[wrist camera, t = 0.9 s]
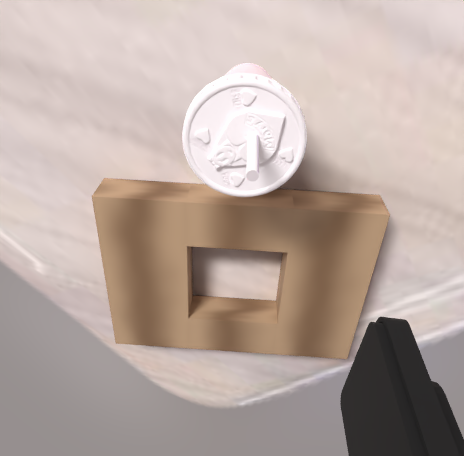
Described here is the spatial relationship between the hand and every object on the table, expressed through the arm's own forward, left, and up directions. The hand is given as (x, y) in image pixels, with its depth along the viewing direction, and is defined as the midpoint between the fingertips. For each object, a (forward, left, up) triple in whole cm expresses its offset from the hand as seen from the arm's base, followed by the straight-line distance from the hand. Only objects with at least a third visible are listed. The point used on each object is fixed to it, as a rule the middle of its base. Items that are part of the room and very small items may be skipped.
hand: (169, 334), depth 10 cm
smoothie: (-1, 0, -23) cm, 23 cm away
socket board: (-1, +16, -23) cm, 28 cm away
